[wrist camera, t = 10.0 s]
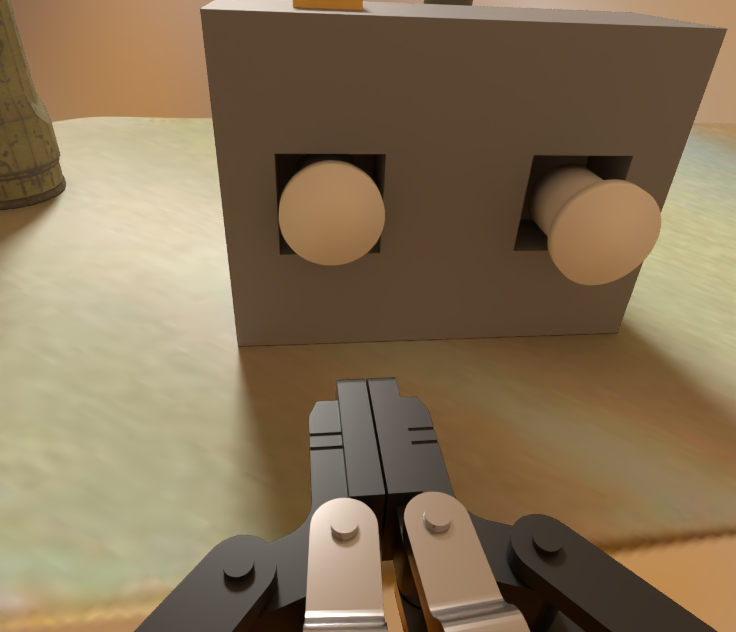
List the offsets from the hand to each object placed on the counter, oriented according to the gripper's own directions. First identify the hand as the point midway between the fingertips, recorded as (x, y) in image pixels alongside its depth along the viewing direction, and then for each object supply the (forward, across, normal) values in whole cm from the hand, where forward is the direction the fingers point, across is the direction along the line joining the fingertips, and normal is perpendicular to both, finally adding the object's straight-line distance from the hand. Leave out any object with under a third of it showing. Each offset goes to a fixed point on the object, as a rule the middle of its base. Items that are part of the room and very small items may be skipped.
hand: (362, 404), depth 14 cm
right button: (+12, -12, +3) cm, 18 cm away
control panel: (+18, -6, +8) cm, 21 cm away
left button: (+15, 0, +3) cm, 15 cm away
